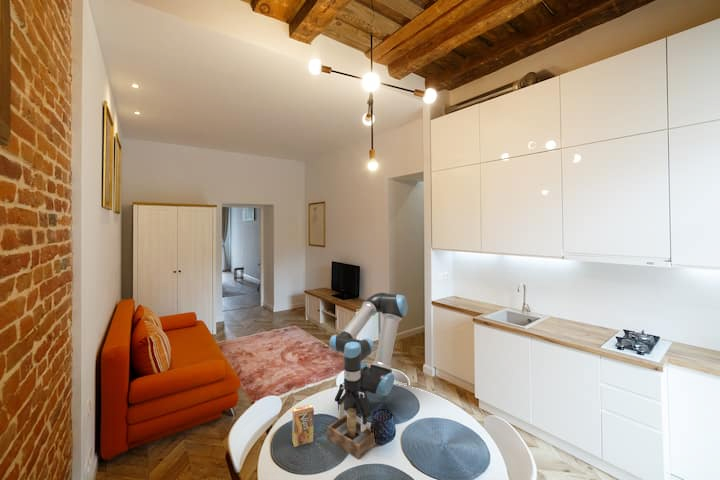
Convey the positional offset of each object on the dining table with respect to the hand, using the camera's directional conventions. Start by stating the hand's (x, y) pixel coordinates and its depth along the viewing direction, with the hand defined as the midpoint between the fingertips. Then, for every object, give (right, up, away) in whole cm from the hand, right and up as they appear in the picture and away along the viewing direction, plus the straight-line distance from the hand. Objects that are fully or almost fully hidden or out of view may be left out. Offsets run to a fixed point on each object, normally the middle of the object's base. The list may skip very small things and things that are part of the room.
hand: (351, 423), depth 135 cm
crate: (0, -8, 0) cm, 8 cm away
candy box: (-22, -8, -1) cm, 24 cm away
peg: (0, -8, 0) cm, 8 cm away
